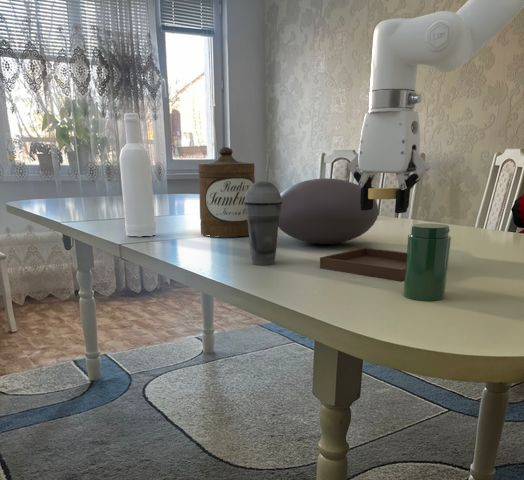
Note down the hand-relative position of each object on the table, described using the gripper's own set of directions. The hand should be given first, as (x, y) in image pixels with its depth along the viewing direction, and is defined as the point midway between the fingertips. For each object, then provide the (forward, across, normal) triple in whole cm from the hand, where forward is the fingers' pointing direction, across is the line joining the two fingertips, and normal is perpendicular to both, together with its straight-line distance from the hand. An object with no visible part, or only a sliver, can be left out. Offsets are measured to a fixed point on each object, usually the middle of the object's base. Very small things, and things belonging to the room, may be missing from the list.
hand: (383, 210), depth 99 cm
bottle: (+11, +71, +4) cm, 72 cm away
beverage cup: (+11, +20, +11) cm, 25 cm away
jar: (+10, -16, +14) cm, 24 cm away
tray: (+11, 0, 0) cm, 11 cm away
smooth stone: (+11, +26, -17) cm, 33 cm away
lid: (-3, 0, 0) cm, 3 cm away
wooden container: (+11, +55, -13) cm, 57 cm away
